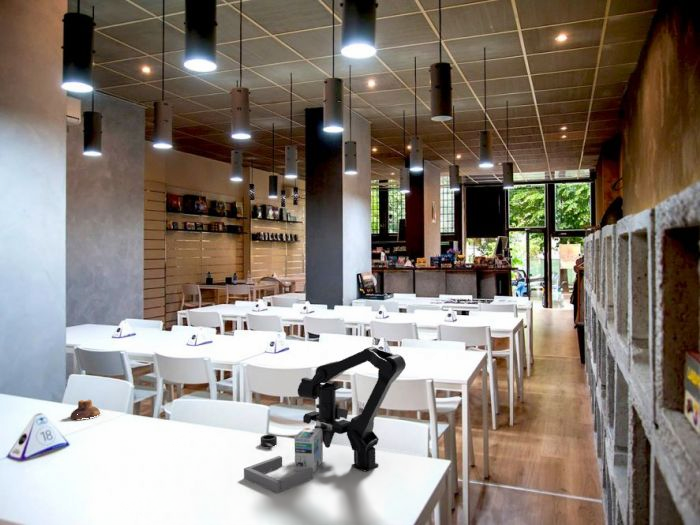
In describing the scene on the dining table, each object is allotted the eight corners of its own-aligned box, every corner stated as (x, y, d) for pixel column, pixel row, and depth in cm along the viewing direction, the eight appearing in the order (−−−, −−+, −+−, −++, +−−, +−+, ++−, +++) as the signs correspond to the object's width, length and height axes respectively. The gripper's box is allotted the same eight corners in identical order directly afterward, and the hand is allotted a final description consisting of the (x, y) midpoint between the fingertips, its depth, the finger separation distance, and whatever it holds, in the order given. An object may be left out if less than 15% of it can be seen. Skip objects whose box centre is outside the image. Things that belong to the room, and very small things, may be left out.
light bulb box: (314, 472, 168) (314, 438, 168) (294, 471, 169) (293, 437, 169) (323, 460, 178) (323, 427, 178) (304, 458, 180) (303, 426, 180)
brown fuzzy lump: (63, 420, 227) (63, 403, 227) (82, 412, 239) (82, 396, 239) (88, 421, 225) (88, 404, 225) (106, 413, 237) (106, 396, 237)
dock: (312, 478, 164) (312, 468, 164) (277, 493, 154) (277, 482, 154) (279, 464, 175) (279, 455, 175) (244, 478, 165) (243, 468, 165)
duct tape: (284, 441, 198) (284, 433, 198) (272, 451, 188) (272, 442, 188) (265, 439, 200) (265, 431, 200) (252, 448, 191) (252, 440, 191)
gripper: (363, 401, 179) (364, 447, 180) (325, 391, 192) (325, 434, 192) (340, 408, 171) (340, 457, 171) (301, 398, 184) (302, 443, 184)
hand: (327, 447), depth 180 cm, fingers closed
